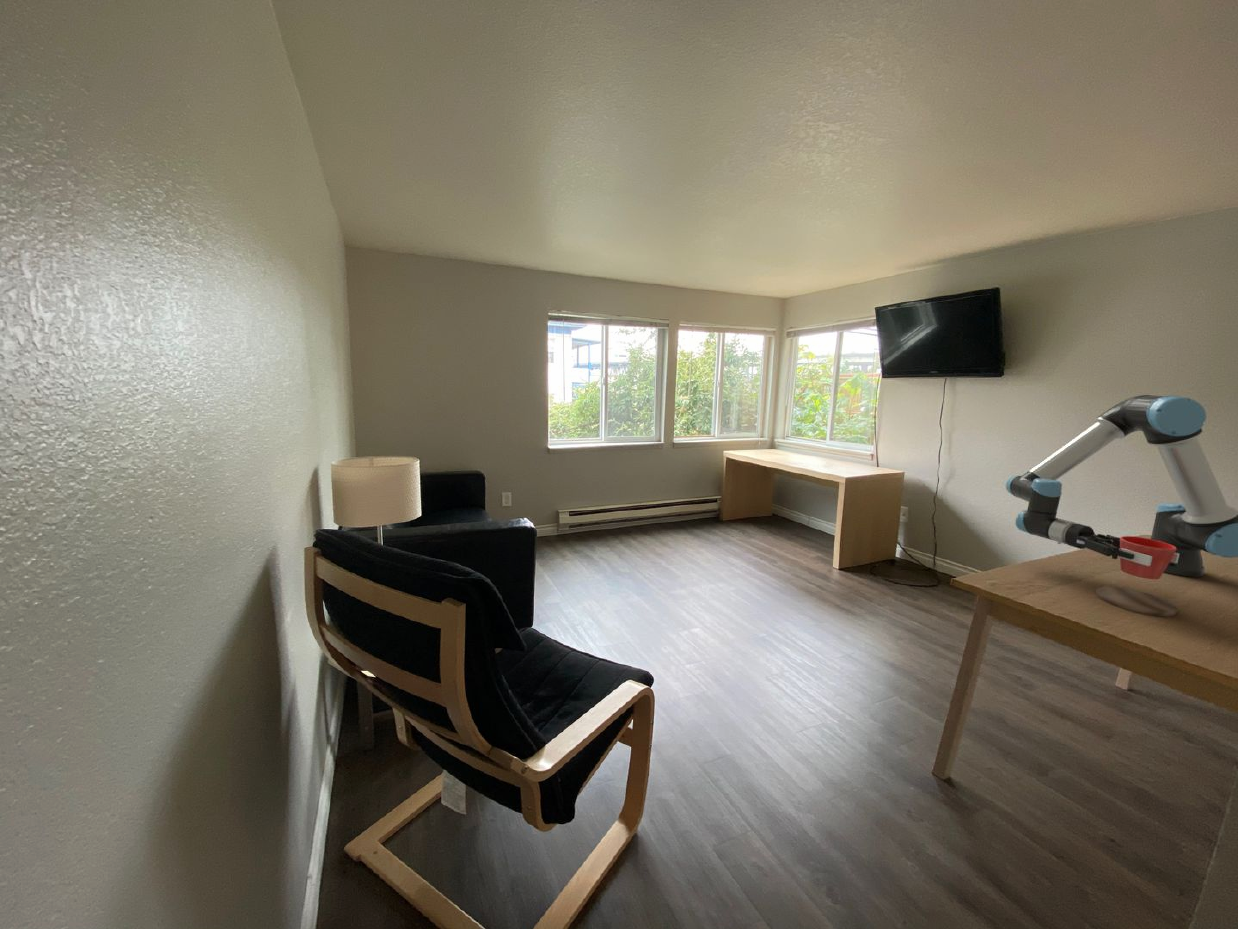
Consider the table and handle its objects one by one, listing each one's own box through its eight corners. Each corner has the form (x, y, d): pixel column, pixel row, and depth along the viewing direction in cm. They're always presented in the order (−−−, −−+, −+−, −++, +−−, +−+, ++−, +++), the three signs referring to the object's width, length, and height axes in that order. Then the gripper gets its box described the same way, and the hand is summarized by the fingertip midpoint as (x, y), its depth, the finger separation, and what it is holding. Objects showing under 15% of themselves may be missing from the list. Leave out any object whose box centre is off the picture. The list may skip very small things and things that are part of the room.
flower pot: (1174, 585, 130) (1182, 551, 128) (1117, 574, 136) (1124, 542, 134) (1162, 573, 138) (1170, 541, 136) (1109, 564, 145) (1116, 533, 143)
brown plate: (1139, 593, 146) (1140, 588, 145) (1194, 619, 130) (1195, 613, 130) (1081, 589, 148) (1082, 584, 147) (1128, 614, 132) (1129, 609, 132)
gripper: (1094, 543, 157) (1188, 569, 136) (1043, 547, 151) (1132, 575, 130) (1099, 521, 155) (1194, 544, 134) (1047, 524, 150) (1138, 549, 129)
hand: (1164, 560), depth 132 cm, fingers closed on flower pot, 10 cm apart
